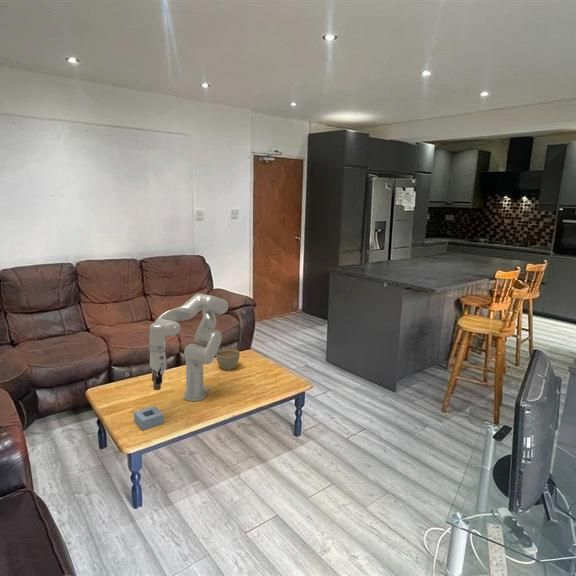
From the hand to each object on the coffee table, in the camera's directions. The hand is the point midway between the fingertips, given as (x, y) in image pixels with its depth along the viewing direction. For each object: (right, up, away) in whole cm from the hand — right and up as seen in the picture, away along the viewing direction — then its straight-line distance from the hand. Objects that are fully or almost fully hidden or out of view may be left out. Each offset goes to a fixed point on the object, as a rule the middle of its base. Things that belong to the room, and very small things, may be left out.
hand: (157, 381), depth 210 cm
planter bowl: (+25, -7, +72) cm, 77 cm away
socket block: (-4, -20, 0) cm, 21 cm away
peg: (0, -4, +1) cm, 4 cm away
